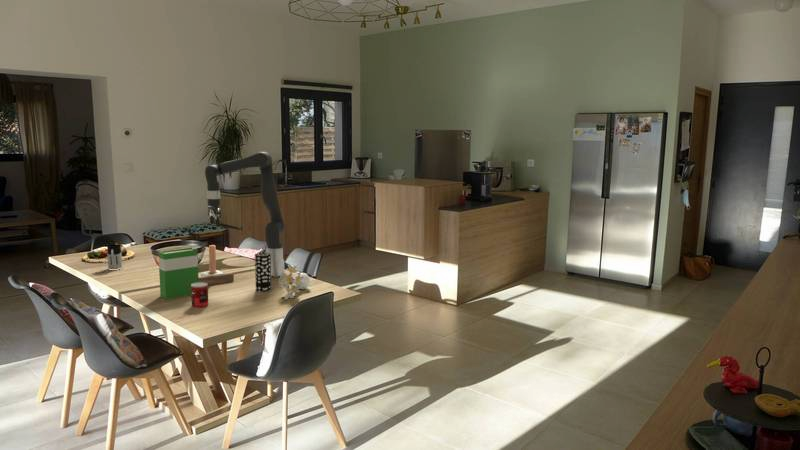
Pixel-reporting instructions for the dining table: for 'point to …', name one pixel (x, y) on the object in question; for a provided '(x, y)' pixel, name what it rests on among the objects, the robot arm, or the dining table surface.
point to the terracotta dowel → (212, 259)
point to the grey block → (207, 274)
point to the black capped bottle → (114, 256)
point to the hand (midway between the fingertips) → (214, 224)
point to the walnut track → (217, 279)
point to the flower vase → (294, 281)
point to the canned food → (199, 294)
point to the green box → (177, 272)
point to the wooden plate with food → (103, 256)
